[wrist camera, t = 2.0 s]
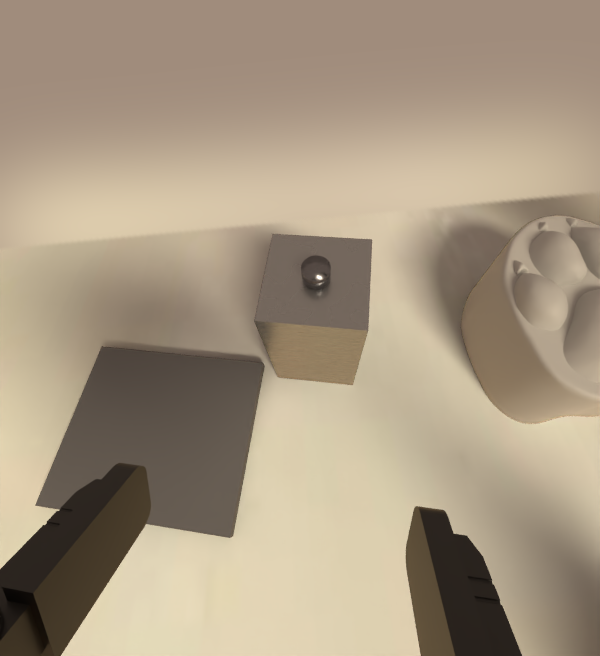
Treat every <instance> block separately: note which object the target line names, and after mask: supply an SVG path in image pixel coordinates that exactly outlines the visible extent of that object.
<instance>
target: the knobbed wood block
mask: <svg viewBox="0 0 600 656" xmlns="http://www.w3.org/2000/svg"><path fill="white" fill-rule="evenodd" d="M371 254H372V240H371V239H353V238H335V237H317V236H299V235H281V234H273V235H272V240H271V245H270V249H269V254H268V259H267V263H266V268H265V273H264V278H263V282H262V287H261V292H260V297H259V301H258V306H257V311H256V316H255V320H254V321H255V324H256V326H257V328H258V331H259V333H260V335H261V338H262V340H263V343H264V345H265V347H266V350H267V352H268V355H269V357H270V359H271V362H272V364H273V367H274V369H275V371H276V374H277V376H278V377H281V378H291V379H300V380H309V381H319V382H328V383H338V384H347V385H353V382H354V379H355V375H356V372H357V368H358V365H359V361H360V358H361V354H362V351H363V347H364V343H365V340H366V336H367V333H368V323H369V300H370V277H371Z"/></svg>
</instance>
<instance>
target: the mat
mask: <svg viewBox="0 0 600 656" xmlns="http://www.w3.org/2000/svg"><path fill="white" fill-rule="evenodd" d="M263 371H264V364H263V363H259V362H250V361H240V360H230V359H220V358H210V357H200V356H191V355H181V354H171V353H161V352H151V351H141V350H132V349H122V348H112V347H102V348H101V350H100V352H99V355H98V357H97V360H96V362H95V364H94V367H93V369H92V371H91V374H90V376H89V379H88V381H87V383H86V386H85V388H84V391H83V393H82V395H81V398H80V400H79V402H78V405H77V407H76V410H75V412H74V414H73V417H72V419H71V421H70V424H69V426H68V429H67V431H66V433H65V436H64V438H63V441H62V443H61V445H60V448H59V450H58V452H57V455H56V457H55V460H54V462H53V464H52V467H51V469H50V472H49V474H48V476H47V479H46V481H45V483H44V486H43V488H42V491H41V493H40V495H39V498H38V500H37V503H36V505H35V506H42V507H48V508H54V509H60V508H61V507H62V506H63V505H64V504H65V503H66V502H67V501H68V500H69V499H70V497H71V496H72V495H73V494H74V493H75V492H76V491H78V490H79V489H81V488H83V487H84V486H86V485H87V484H89V483H90V482H92V481H93V480H95V479H102V478H103V477H104V476H105V475H106V474H107V473H108V472H109V471H110V470H111V468H112V467H113V466H115V465H116V464H118V463H125V464H132V465H139V466H144V467H145V468H146V471H147V478H148V485H149V492H150V499H151V510H150V515H149V518H148V520H147V523H146V524H150V525H156V526H162V527H168V528H174V529H180V530H186V531H192V532H198V533H204V534H210V535H216V536H222V537H228V538H230V537H232V536H233V533H234V528H235V523H236V517H237V512H238V506H239V501H240V495H241V490H242V485H243V479H244V474H245V468H246V463H247V457H248V452H249V447H250V441H251V436H252V430H253V425H254V420H255V414H256V409H257V403H258V398H259V392H260V387H261V382H262V376H263Z"/></svg>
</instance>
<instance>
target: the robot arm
mask: <svg viewBox="0 0 600 656" xmlns="http://www.w3.org/2000/svg"><path fill="white" fill-rule="evenodd" d="M150 510H151V499H150V492H149V485H148V478H147V471H146V468H145V467H144V466H139V465H132V464H125V463H118V464H116V465H115V466H113V467H112V468H111V470H110V471H109V472H108V473H107V474H106V475H105V476H104V477H103V478H102V479H95V480H93V481H92V482H90V483H89V484H87V485H86V486H84V487H83V488H81V489H79V490H78V491H76V492H75V493H74V494H73V495H72V496H71V497H70V499H69V500H68V501H67V502H66V503H65V504H64V505H63V506H62V507H61V508H60V511H57V512H56V513H55V514H54V515H53V516H52V517H51V518H50V519H49V520H48V521H47V524H46V525H43V526H42V527H41V528H40V529H39V530H38V531H37V532H36V533H35V534H34V535H33V536H32V537H31V538H30V539H29V540H28V541H27V542H26V544H25V545H24V546H23V547H22V548H21V549H20V550H19V551H18V552H17V553H16V554H15V555H14V556H13V557H12V558H11V559H10V560H9V561H8V562H7V563H6V564H5V565H4V566H3V567H2V568H1V569H0V656H61V654H62V653H63V651H64V650H65V648H66V647H67V645H68V643H69V642H70V640H71V639H72V637H73V636H74V634H75V633H76V631H77V630H78V628H79V627H80V625H81V623H82V622H83V620H84V619H85V617H86V616H87V614H88V613H89V611H90V610H91V608H92V607H93V605H94V603H95V602H96V600H97V599H98V597H99V596H100V594H101V593H102V591H103V590H104V588H105V587H106V585H107V583H108V582H109V580H110V579H111V577H112V576H113V574H114V573H115V571H116V570H117V568H118V567H119V565H120V563H121V562H122V560H123V559H124V557H125V556H126V554H127V553H128V551H129V550H130V548H131V547H132V545H133V543H134V542H135V540H136V539H137V537H138V536H139V534H140V533H141V531H142V530H143V528H144V526H145V525H146V523H147V520H148V518H149V515H150ZM406 568H407V575H408V581H409V587H410V593H411V599H412V605H413V611H414V617H415V623H416V629H417V635H418V641H419V647H420V653H421V656H522V654H521V652H520V649H519V647H518V644H517V642H516V639H515V637H514V634H513V632H512V629H511V627H510V624H509V621H508V619H507V616H506V614H505V611H504V609H503V606H502V605H501V604H500V599H499V596H498V594H497V591H496V589H495V586H494V585H493V584H492V579H491V576H490V574H489V571H488V568H487V566H486V563H485V561H484V558H483V556H482V555H481V554H480V552H479V551H478V550H477V548H476V547H475V546H474V545H473V543H472V542H471V541H470V539H469V538H468V537H467V536H465V535H458V534H453V531H452V528H451V525H450V522H449V519H448V516H447V514H446V512H445V511H444V510H439V509H432V508H425V507H418V506H416V507H415V508H414V512H413V516H412V521H411V526H410V530H409V535H408V540H407V545H406Z"/></svg>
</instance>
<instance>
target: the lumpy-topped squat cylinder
mask: <svg viewBox="0 0 600 656" xmlns="http://www.w3.org/2000/svg"><path fill="white" fill-rule="evenodd" d="M461 331H462V335H463V339H464V343H465V346H466V349H467V352H468V355H469V358H470V361H471V364H472V366H473V368H474V371H475V373H476V375H477V377H478V379H479V381H480V383H481V386H482V388H483V390H484V391H485V393H486V395H487V396H488V398H489V399H490V401H491V402H492V403H493V404H494V405H495V406H496V407H497V408H498V409H499V410H500V411H501V412H502V413H504V414H505V415H506V416H508V417H510V418H511V419H513V420H515V421H518V422H521V423H525V424H537V423H542V422H546V421H549V420H552V419H556V418H559V417H565V416H582V417H595V416H600V225H597V224H594V223H591V222H588V221H585V220H582V219H578V218H574V217H570V216H563V215H553V216H546V217H541V218H538V219H536V220H533V221H531V222H529V223H528V224H526V225H525V226H523V227H522V228H521V229H520V230H519V231H518V232H517V233H516V234H515V235H514V236H513V237H512V238H511V240H510V241H509V242H508V243H507V245H506V246H505V247H504V249H503V250H502V251H501V253H500V254H499V255H498V257H497V258H496V259H495V261H494V262H493V263H492V265H491V266H490V267H489V269H488V270H487V271H486V273H485V274H484V275H483V276H482V278H481V279H480V280H479V282H478V283H477V284H476V286H475V287H474V288H473V290H472V291H471V292H470V294H469V296H468V298H467V301H466V304H465V307H464V310H463V314H462V319H461Z"/></svg>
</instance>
